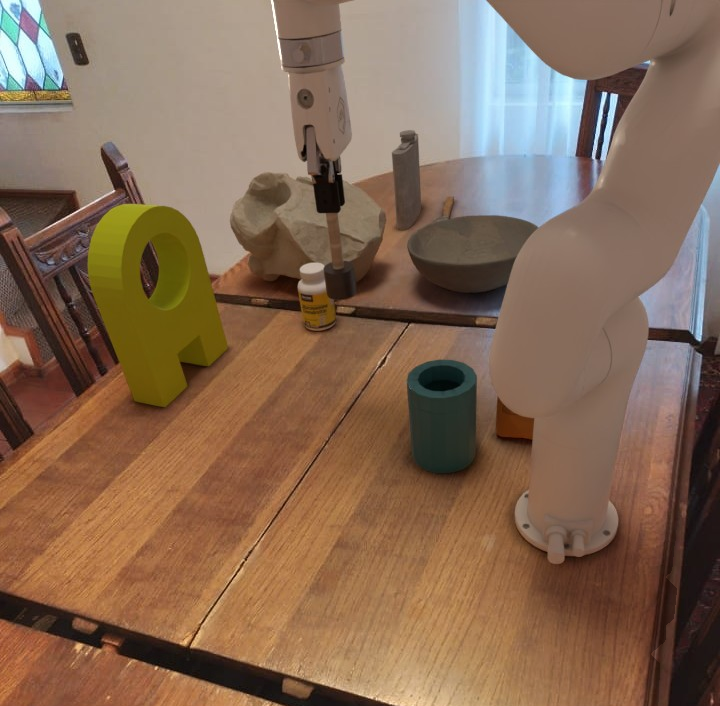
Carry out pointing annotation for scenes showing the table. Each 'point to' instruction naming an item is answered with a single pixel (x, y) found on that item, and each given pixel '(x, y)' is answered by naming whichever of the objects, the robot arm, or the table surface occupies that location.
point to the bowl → (469, 251)
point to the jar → (442, 415)
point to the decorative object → (154, 299)
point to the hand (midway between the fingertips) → (331, 207)
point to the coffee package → (512, 423)
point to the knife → (446, 209)
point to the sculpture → (302, 227)
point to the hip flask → (407, 180)
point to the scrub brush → (338, 265)
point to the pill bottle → (315, 298)
